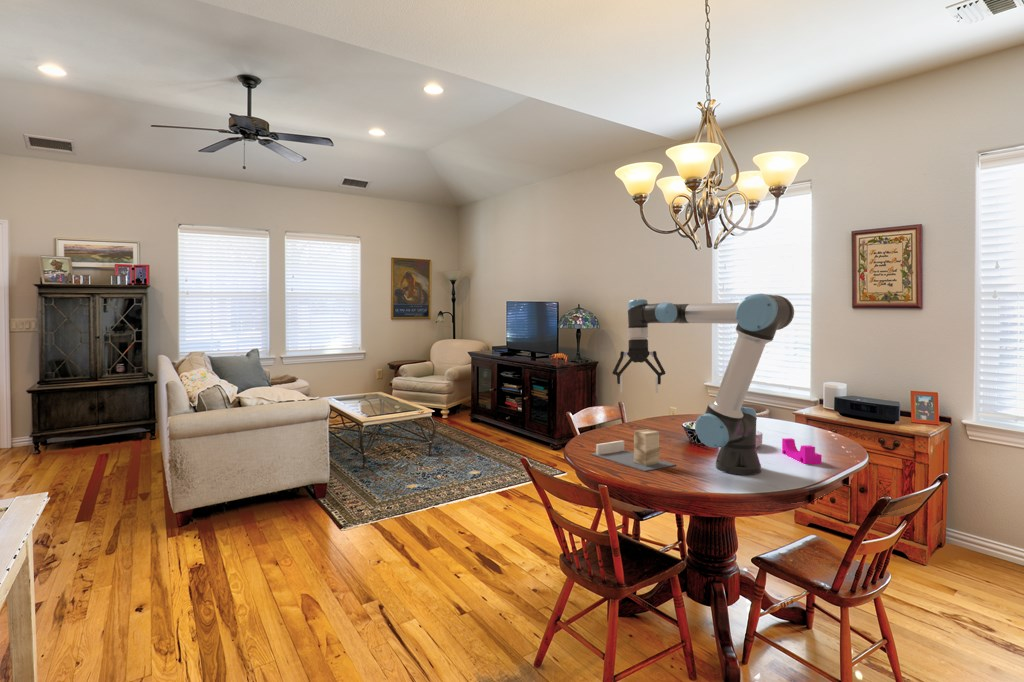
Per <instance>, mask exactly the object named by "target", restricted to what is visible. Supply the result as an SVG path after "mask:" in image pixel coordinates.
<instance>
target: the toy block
mask: <svg viewBox="0 0 1024 682" xmlns="http://www.w3.org/2000/svg"><path fill="white" fill-rule="evenodd" d="M795 441H796V440H795V439H794V438H792V437H791V438H790V437H789V438H784V437H783V438H781V444H782V445H781V448H782V449H781V453H782V455H785V456H786V455H787V456H786V457H789V458H790V457H791V459H792V458H793V459H792V460H794V459H795V461H796V460H797V462H798V461H799V462H798V463H800V462H801V464H802V463H803V465H804V464H812V465H822V457H823V456H822V454H820V453H818V452H816V446H814V445H809V444H808V445H807V444H806V445H805V444H804V445H803V444H802V445H800V449H799V450H798V448H797V446H796V442H795Z"/></svg>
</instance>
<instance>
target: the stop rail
mask: <svg viewBox="0 0 1024 682" xmlns="http://www.w3.org/2000/svg"><path fill="white" fill-rule="evenodd" d="M624 450H625V440H616V441H610V442H603V443H596V444H595V453H596V454H597V455H600V454H606V453H613V452H619V451H624Z"/></svg>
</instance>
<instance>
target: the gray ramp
mask: <svg viewBox="0 0 1024 682" xmlns="http://www.w3.org/2000/svg"><path fill="white" fill-rule="evenodd" d="M589 455H591V456H595V457H597V458H601V459H604V460H606V461H609V462H613V463H615V464H619V465H622V466H626V467H629V468H632V469H636V470H638V471H641V472H650V471H654V470H655V471H656V470H660V469H666V468H670V467H675V466H677V464H676V463H672V462H668V461H666V460H661V459H659V464H655V465H650V466H643V465H640V464H636V463H634V451H630V450H625V449H624V451H619V452H613V453H606V454H600V455H597V454H596V452H591V453H589Z"/></svg>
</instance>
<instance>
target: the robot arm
mask: <svg viewBox="0 0 1024 682" xmlns="http://www.w3.org/2000/svg"><path fill="white" fill-rule="evenodd" d="M794 317H795V308H794V306H793V303H792V302H791V301H790V300H789V299H788V298H787V297H784V296H781V295H779V294H778V295H777V294H774V295H773V294H765V293H756V294H750V295H748V296H746V297H744V298H743V299H742V300H741V301H740V302H717V303H715V302H714V303H713V302H712V303H709V302H708V303H706V302H705V303H672V302H659V303H658V302H657V303H648V300H647V299H643V298H642V299H641V298H639V299H630V300H629V301H628V303H627V321H628V322H627V323H628V328H627V330H628V331H627V333H628V339H629V340H628V341H627V342H628V350H627V351H624V350H621V351H620V352H619V353H620V354H619V356H620V357H619V358H618V360H617V361H616V364H615V366H614V369H613V371H612V375H614V376H616V377H617V378H616V382H617V385H619V392H620V393H619V394H622V393H623V392H624V389H623V386H624V385H623V383H624V382H623V377H624V376H623V375H622V374H623V373H624V372H625V370H626V369H627V368H628V367H629V365H630V364H631V363H632V362H633V363H635V364H637V363H646V365H648V366H649V368H650V369H651V370H652V371H653V372H654V373H655V374H656V375H655V394H658V393H659V385H661V383H662V380H661V379H662V378H661V377H662V376H665V374H666V371H665V368H664V367H663V365H662V363H661V361H660V360H659V357H658V355H657V353H658V352H657V351H656V350H654V351H653V350H652V351H649V340H648V339H647V338H649V329H648V328H649V327H648V326H649V324H724V325H725V324H728V325H729V324H734V325H735V324H736V327H735V332H736V333H737V335H738V336H737V338H736V342H735V344H734V347H733V350H732V353H731V355H730V357H729V360H728V362H727V363H728V364H727V366H726V369H725V372H724V374H723V376H722V380H721V383H720V385H719V387H718V391H717V392H716V393H717V394H716V396H715V399H714V400H712V401H710V402H708V404H707V406H706V409H705V412H704V413H702V414H701V415H700V416H698V418H697V419H696V420H695V423H694V428H695V430H694V431H695V434H696V436H697V438H698V440H699V441H700V442H701V443H702V444H703V445H704V446H707V447H709V448H715V449H716V448H720V449H719V452H718V453H717V457H716V460H715V469H717V470H719V471H720V472H723V473H724V472H725V473H728V474H732V475H742V476H743V475H745V476H749V475H750V476H751V475H758V474H760V473H761V472H762V464H761V463H760V462H761V461H760V459H759V455H758V452H757V448H756V431H757V411H756V409H755V408H754V407H749V406H743V403H744V402H745V400H746V399H745V398H746V396H747V394H748V391H749V388H750V386H751V383H752V380H753V378H754V375H755V372H756V371H757V367H758V365H759V363H760V359H761V358H762V354H763V351H764V350H765V347H766V344H768V343H771V342H773V340H774V337H775V336H776V333H777V331H780V330H782V329H784V328H786V327H788V326H789V325H790V324H791V323H792V321H793V319H794ZM649 355H650V356H651V357H652V358H653V359H654V361H655V363H656V365H657V367H658V368H659V370H660V371H659V370H658V369H657V367H655V366H654V364H653V363H652V362H651V361H650V359H648V358H649ZM627 356H628V358H629V359H628V360H627V362H626V363H625V364H624V365H623V366H622V367H621V369H620V370H619V368H620V366H621V363H622V362H623V360H624V358H625V357H627ZM618 370H619V371H618Z"/></svg>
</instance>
